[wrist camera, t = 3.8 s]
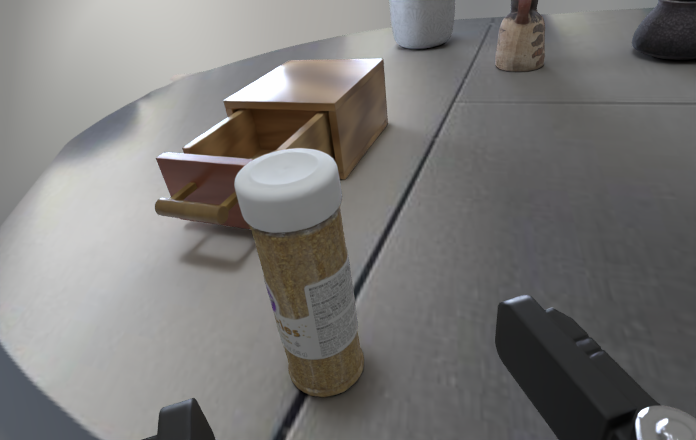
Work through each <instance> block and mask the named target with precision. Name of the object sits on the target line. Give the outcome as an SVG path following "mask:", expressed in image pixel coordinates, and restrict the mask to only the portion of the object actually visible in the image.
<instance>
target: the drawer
mask: <svg viewBox="0 0 696 440" xmlns="http://www.w3.org/2000/svg"><path fill="white" fill-rule="evenodd" d="M294 148H305V149H314V150H318V151H321V152H324V153H326V154H328V155H329V156H331V157H332V158H333V159H334V161H335V162H336V160H335V153H334V146H333V139H332V133H331V126H330V119H329V111H310V110H277V109H244V108H241V109H240V110H238V111H237V112H235V113H234V114H232V115H231V116H229V117H228V118H226V119H225V120H223V121H222V122H220V123H219V124H217V125H216V126H214V127H213V128H211V129H210V130H208V131H207V132H205V133H204V134H202V135H201V136H199V137H198V138H196V139H195V140H193V141H192V142H190V143H189V144H187V145H186V146H184V147H183V148H182V149H183V152H184V154H182V153H170V152H164V153H163V154H161V155H160V156H158V157H157V158H156V160H157V162H158V165H159V167H160V170H161V172H162V175H163V178H164V180H165V183H166V185H167V188H168V190H169V193H170V195H171V197H170V198H169V199H168V198H160V199H158V200H157V202H156V204H155V211H156V213H157V214H159V215H162V216H168V217H175V218H180V219H183V220H190V221H197V222H203V223H210V224H217V225H224V226H230V227H237V228H244V229H250V226H249V224H248V223H247V222H246V221H245V220H244V218H243V216H242V212H241V209H240V206H239V202H238V199H237V195H236V191H235V186H234V183H235V178H236V176H237V174H238V172H239V171H240V170H241V169H242V168H243V167H244V166H245V165H246V164H248V163H249V162H251V161H252V160H254V159H256V158H258V157H261V156H263V155H265V154H269V153H272V152H276V151H280V150H286V149H294ZM250 230H251V229H250Z"/></svg>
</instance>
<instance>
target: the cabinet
mask: <svg viewBox="0 0 696 440" xmlns="http://www.w3.org/2000/svg"><path fill="white" fill-rule="evenodd" d="M224 105H225V108H226V112H227V116H228V117H229V116H231V115H232V114H234V113H235V112H237V111H238V110H240V109H241V108H244V109H277V110H310V111H329V119H330V126H331V133H332V139H333V146H334V153H335V160H336V164H337V167H338V173H339V178H340V179H344V180H345V179H346V178H347V176H348V175H349V174H350V172H351V171H352V170H353V169H354V167H355V166H356V165H357V163H358V162H359V161H360V159H361V158H362V157H363V156H364V154H365V153H366V152H367V150H368V149H369V148H370V146H371V145H372V144H373V143H374V141H375V140H376V139H377V137H378V136H379V135H380V133H381V132H382V131H383V130H384V128H385V127H386V126H387V124H388V118H387V104H386V90H385V76H384V62H383V59H334V60H289V61H287V62H286V63H284V64H283V65H281V66H279V67H278V68H276V69H274V70H273V71H271V72H270V73H268V74H266V75H265V76H263V77H261V78H260V79H258V80H257V81H255V82H253V83H252V84H250V85H248V86H247V87H245V88H243V89H242V90H240V91H239V92H237V93H235V94H234V95H232V96H230V97H229V98H227V99H226V100H224Z"/></svg>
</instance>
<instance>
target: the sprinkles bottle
mask: <svg viewBox="0 0 696 440" xmlns="http://www.w3.org/2000/svg"><path fill="white" fill-rule="evenodd" d="M234 186H235V191H236V195H237V199H238V202H239V206H240V209H241V212H242V216H243V218H244V220H245V221H246V222H247V223H248V224H249V226H250V229H251V230H252V235H253V237H254V240H255V244H256V248H257V252H258V255H259V258H260V262H261V266H262V269H263V273H264V280H265V284H266V287H267V290H268V294H269V297H270V301H271V304H272V308H273V312H274V315H275V319H276V323H277V327H278V331H279V334H280V338H281V341H282V343H283V345H284V348H285V352H286V355H287V358H288V363H289V367H288V368H289V374H290V377H291V380H292V382H293V383H294V384H295V385H296V387H297V388H298V389H300V390H301V391H303V392H304V393H307V394H309V395H311V396H318V397H328V396H332V395H336V394H339V393H342V392H344V391H346V390H347V389H348V388H349V387H351V386H352V385H353V384H354V383H355V382H356V381H357V380H358V378H359V377H360V375H361V373H362V371H363V365H364V357H363V352H362V350H361V347H360V344H359V337H358V332H357V329H358V321H357V313H356V306H355V298H354V291H353V284H352V277H351V271H350V264H349V257H348V251H347V248H346V245H345V238H344V232H343V225H342V218H341V212H340V204H341V200H342V192H341V185H340V178H339V173H338V167H337V164H336V162H335V161H334V159H333V158H332V157H331V156H329V155H328V154H326V153H324V152H321V151H318V150H314V149H305V148H294V149H286V150H280V151H276V152H272V153H269V154H265V155H263V156H261V157H258V158H256V159H254V160H252V161H251V162H249V163H248V164H246V165H245V166H244V167H243V168H242V169H241V170H240V171H239V172H238V174H237V176H236V178H235V183H234Z"/></svg>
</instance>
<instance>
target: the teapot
mask: <svg viewBox="0 0 696 440" xmlns="http://www.w3.org/2000/svg"><path fill="white" fill-rule="evenodd" d="M632 46H633V47H634V48H635V49H636V50H638V51H640V52H642V53H644V54H648V55H651V56H654V57H657V58H663V59H676V60H689V59H696V0H658V4H657V6H656V7H655V8H654V9H653V10H652V11H651V12H650V13H649V14H648V16H647V17H646V18H645V19H644V20H643V21H642V22H641V24H640V25H639V26H638V28H637V30H636V31H635V33H634V36H633V39H632Z"/></svg>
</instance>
